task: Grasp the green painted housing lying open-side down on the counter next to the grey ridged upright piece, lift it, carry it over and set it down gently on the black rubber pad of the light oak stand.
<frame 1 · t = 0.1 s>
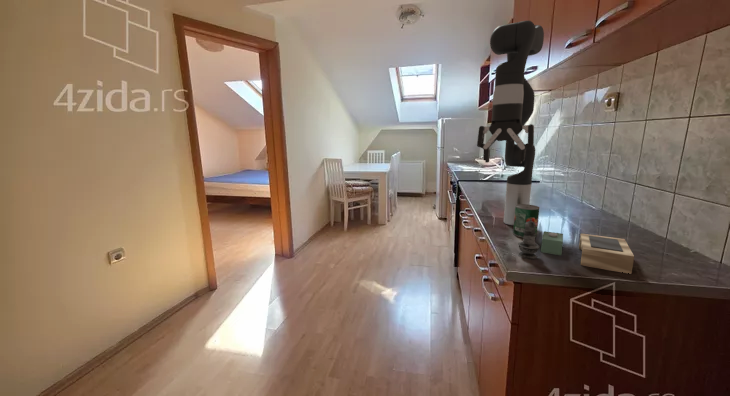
hand: (503, 162, 85), 29 cm above the worktop, tool pointing down, fingers open, 8 cm apart
stand: (602, 259, 89), on the worktop
housing: (551, 249, 98), on the worktop
canned tomato: (524, 235, 112), on the worktop
grey ridged upright piece: (527, 256, 93), on the worktop
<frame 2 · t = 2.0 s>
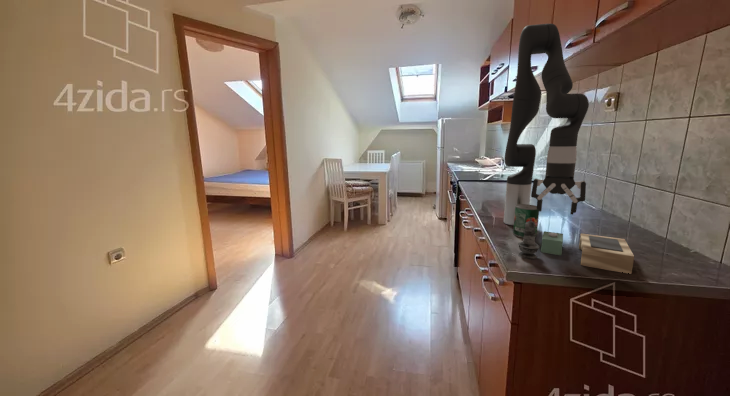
hand: (555, 212, 95), 12 cm above the worktop, tool pointing down, fingers open, 8 cm apart
nothing on the worktop moved.
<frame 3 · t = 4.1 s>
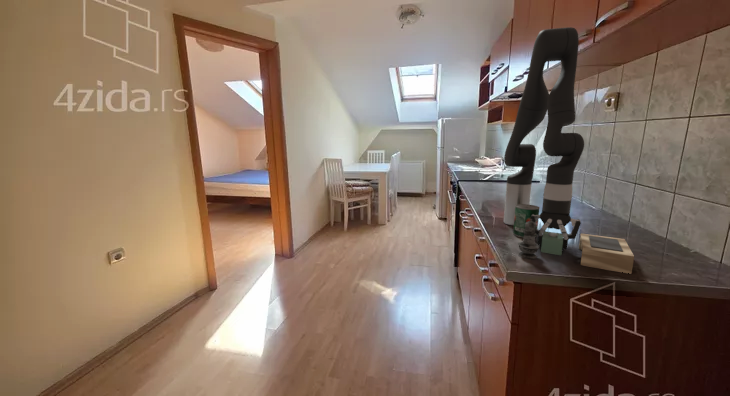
hand: (551, 247, 98), 0 cm above the worktop, tool pointing down, fingers closed on housing, 5 cm apart
housing: (551, 249, 98), on the worktop, touching gripper
everything else where it was.
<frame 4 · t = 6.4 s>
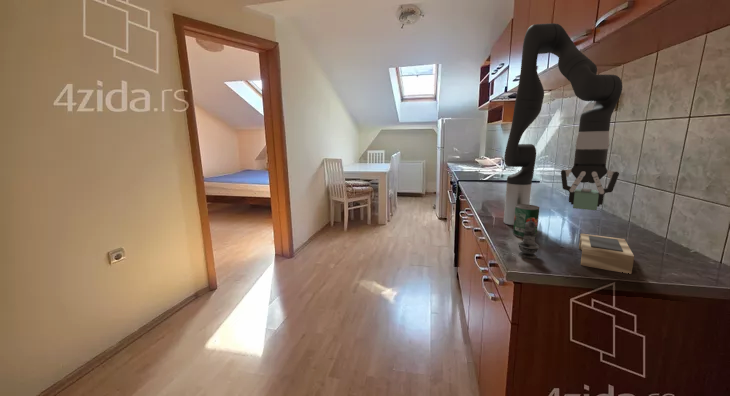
hand: (584, 204, 89), 16 cm above the worktop, tool pointing down, fingers closed on housing, 5 cm apart
housing: (584, 206, 89), point 16 cm above the worktop, touching gripper
everything else where it was.
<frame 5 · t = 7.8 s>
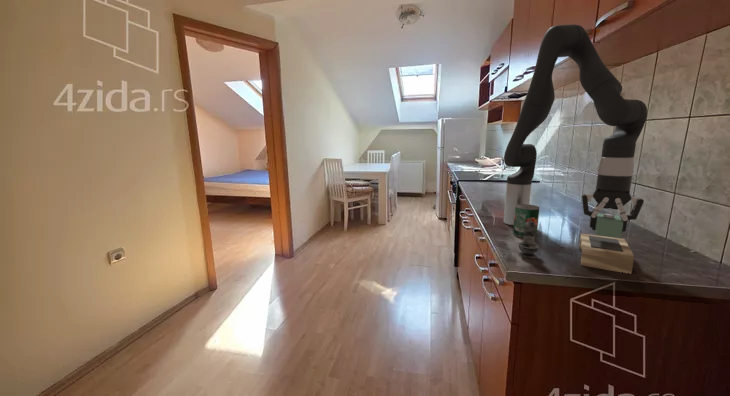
hand: (606, 230, 87), 9 cm above the worktop, tool pointing down, fingers closed on housing, 5 cm apart
housing: (606, 232, 87), point 9 cm above the worktop, touching gripper
everything else where it was.
when the fingers open (7 cm above the worktop, at t = 9.0 s): housing drops 1 cm, resting on stand.
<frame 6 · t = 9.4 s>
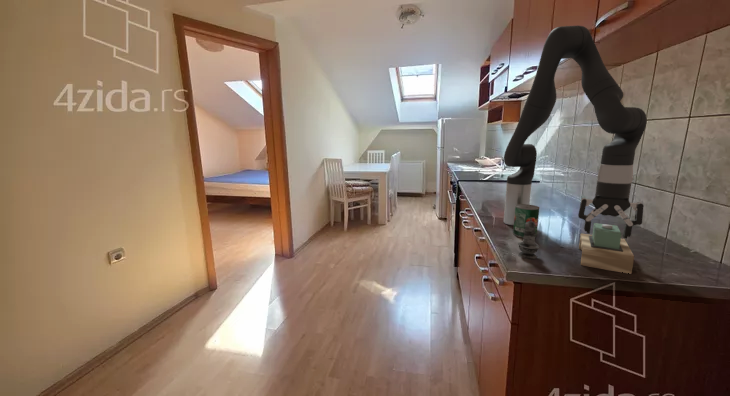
hand: (605, 235, 88), 8 cm above the worktop, tool pointing down, fingers open, 8 cm apart
housing: (604, 242, 88), point 5 cm above the worktop, touching stand
everything else where it was.
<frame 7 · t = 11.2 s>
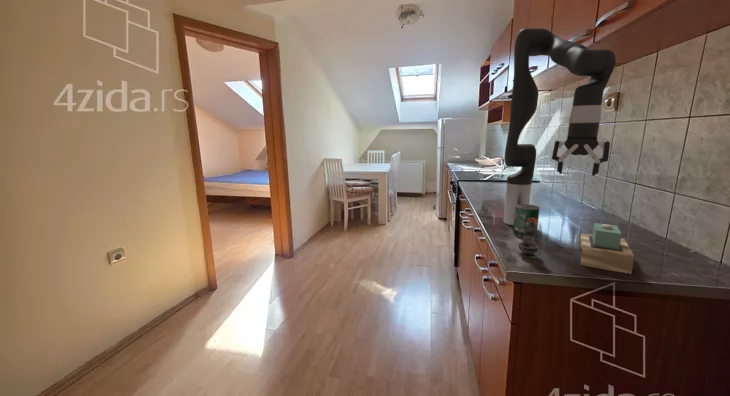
hand: (576, 174, 94), 24 cm above the worktop, tool pointing down, fingers open, 8 cm apart
nothing on the worktop moved.
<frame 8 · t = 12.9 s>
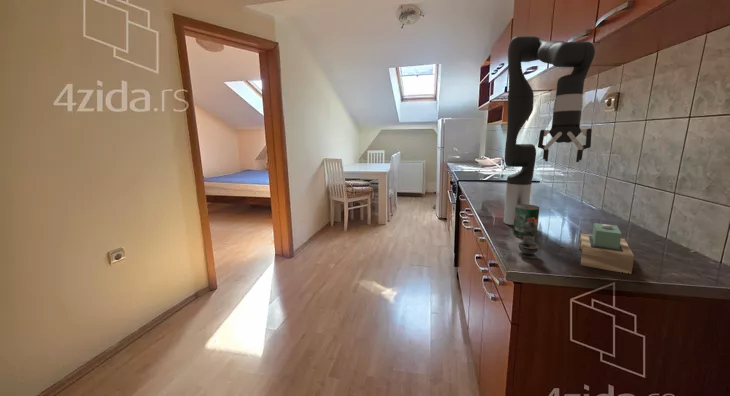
hand: (561, 161, 98), 28 cm above the worktop, tool pointing down, fingers open, 8 cm apart
nothing on the worktop moved.
at the end: housing 0.0 cm off-centre on the stand, point 5.3 cm above the stand's base; housing tilted 0°; the gripper is holding nothing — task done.
